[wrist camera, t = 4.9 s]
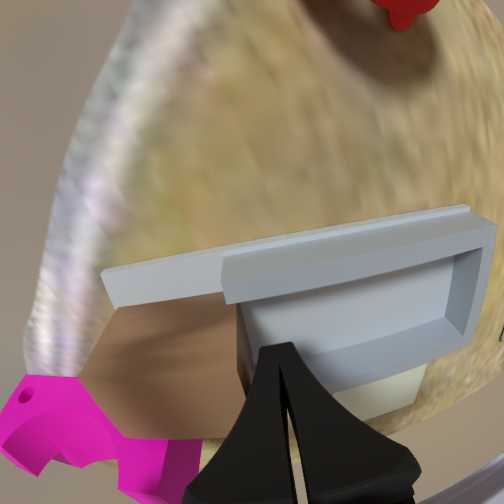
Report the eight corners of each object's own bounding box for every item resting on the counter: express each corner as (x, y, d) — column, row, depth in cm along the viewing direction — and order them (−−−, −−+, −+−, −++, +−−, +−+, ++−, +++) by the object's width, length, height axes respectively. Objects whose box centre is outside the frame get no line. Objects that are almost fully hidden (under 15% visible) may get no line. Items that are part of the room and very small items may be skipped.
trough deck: (463, 203, 12) (497, 218, 10) (447, 322, 15) (469, 347, 13) (104, 269, 13) (80, 298, 10) (158, 383, 16) (150, 417, 13)
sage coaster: (429, 334, 16) (433, 339, 15) (411, 397, 18) (413, 403, 18) (330, 364, 16) (333, 371, 15) (329, 423, 18) (331, 429, 18)
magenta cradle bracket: (66, 422, 18) (39, 483, 11) (25, 374, 16) (-15, 438, 9) (218, 431, 17) (210, 526, 10) (183, 374, 15) (157, 495, 8)
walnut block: (236, 288, 13) (236, 369, 8) (252, 354, 14) (258, 434, 10) (118, 307, 13) (77, 378, 8) (146, 365, 14) (124, 437, 10)
